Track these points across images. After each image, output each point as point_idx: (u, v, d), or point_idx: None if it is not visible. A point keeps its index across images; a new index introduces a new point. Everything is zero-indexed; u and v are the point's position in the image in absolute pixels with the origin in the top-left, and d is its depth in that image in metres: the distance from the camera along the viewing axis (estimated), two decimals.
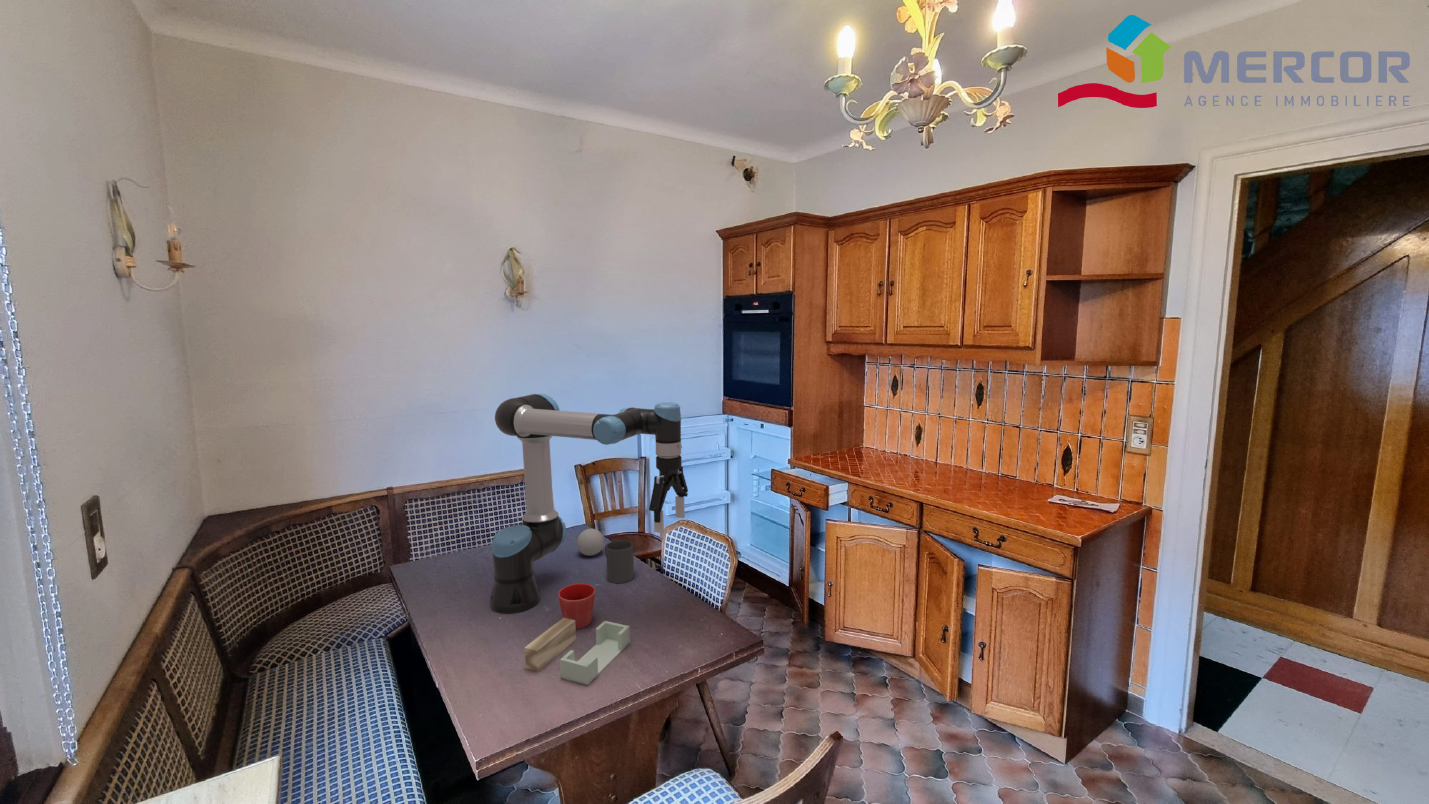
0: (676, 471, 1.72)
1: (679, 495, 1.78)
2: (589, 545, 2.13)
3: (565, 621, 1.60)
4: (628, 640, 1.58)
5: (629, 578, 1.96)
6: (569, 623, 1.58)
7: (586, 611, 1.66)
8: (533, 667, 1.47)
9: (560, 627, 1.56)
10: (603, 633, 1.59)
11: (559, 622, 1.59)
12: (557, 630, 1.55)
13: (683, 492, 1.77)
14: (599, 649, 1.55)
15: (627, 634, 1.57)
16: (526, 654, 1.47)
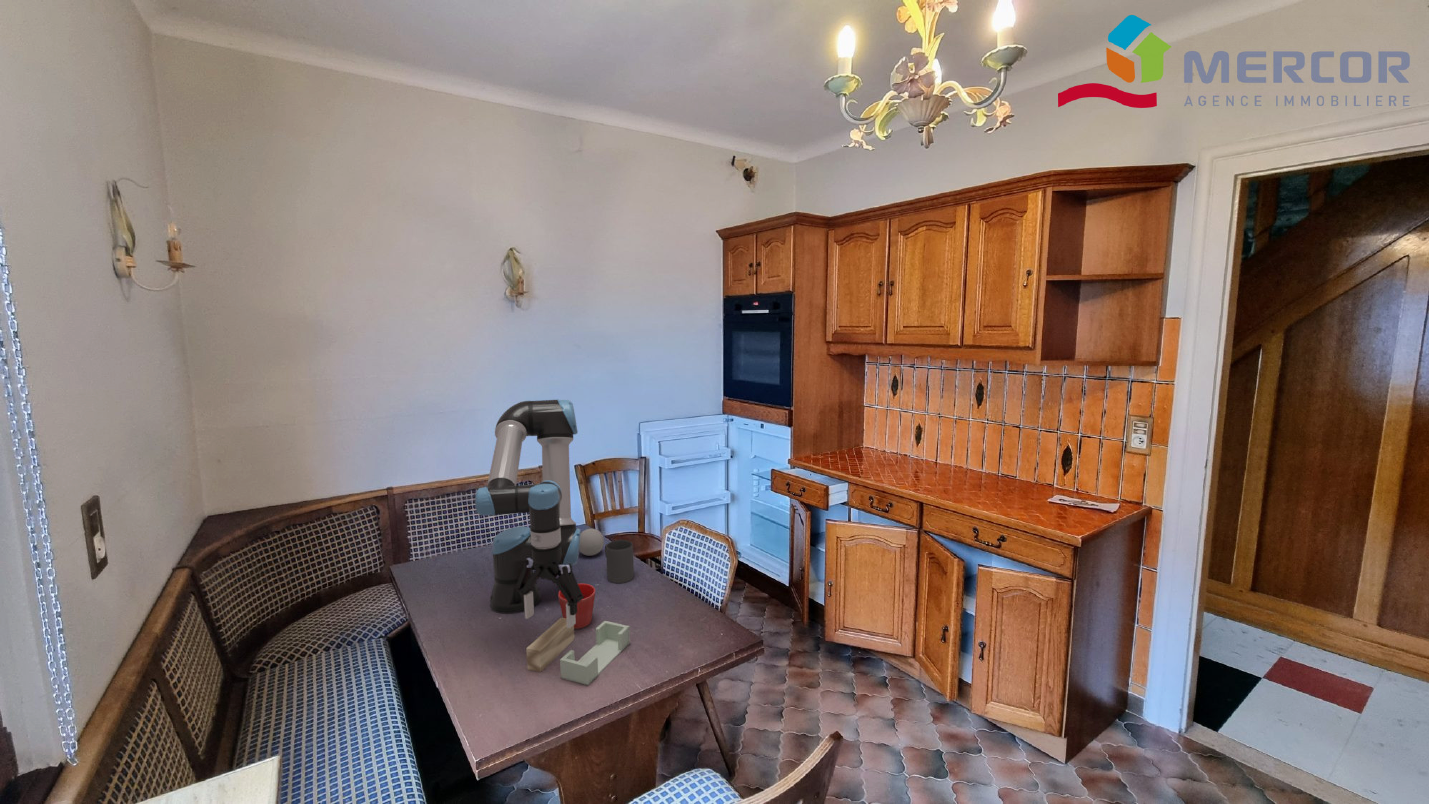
0: (553, 567, 1.49)
1: None
2: (589, 545, 2.13)
3: (564, 621, 1.60)
4: (628, 640, 1.58)
5: (629, 578, 1.96)
6: None
7: (586, 611, 1.66)
8: (535, 667, 1.47)
9: (559, 627, 1.56)
10: (603, 633, 1.59)
11: (557, 622, 1.59)
12: (557, 630, 1.55)
13: (567, 598, 1.48)
14: (599, 649, 1.55)
15: (627, 634, 1.57)
16: (528, 655, 1.47)
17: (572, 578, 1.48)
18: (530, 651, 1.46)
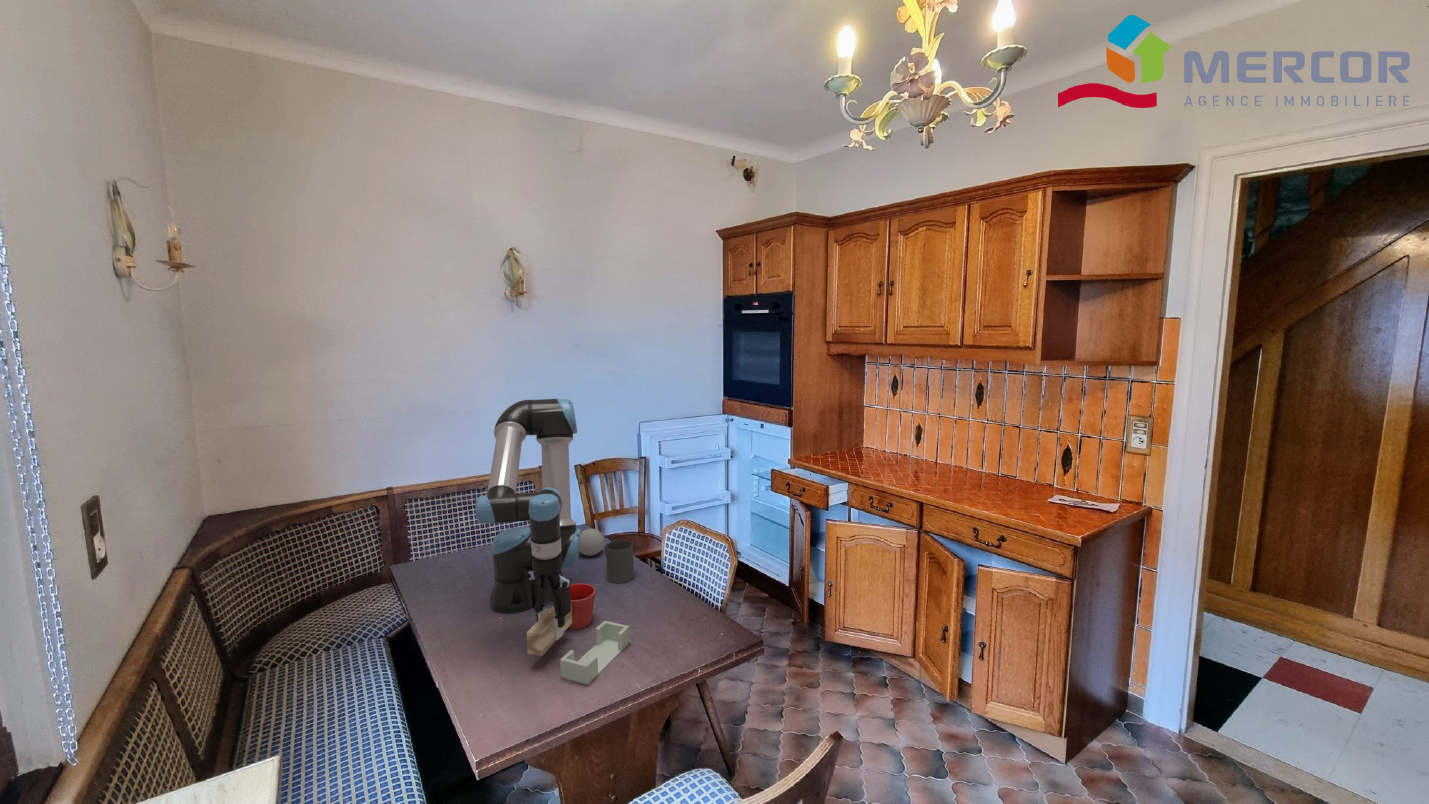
0: (554, 576, 1.49)
1: None
2: (589, 545, 2.13)
3: None
4: (628, 640, 1.58)
5: (629, 578, 1.96)
6: None
7: (586, 611, 1.66)
8: (536, 651, 1.46)
9: None
10: (603, 633, 1.59)
11: None
12: None
13: (556, 611, 1.51)
14: (599, 649, 1.55)
15: (627, 634, 1.57)
16: (528, 639, 1.46)
17: (568, 593, 1.50)
18: (530, 635, 1.46)
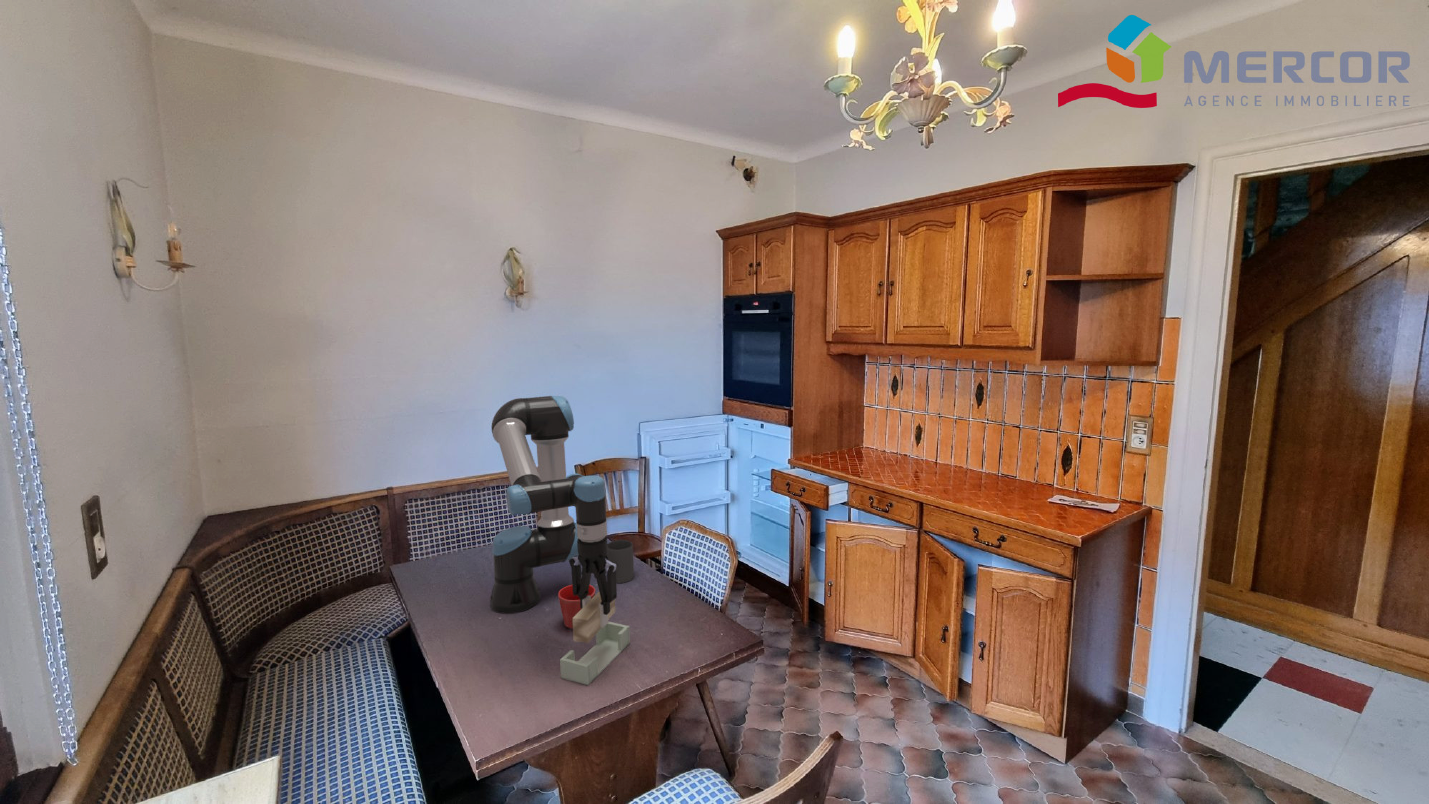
0: (600, 560, 1.45)
1: None
2: None
3: None
4: (628, 640, 1.58)
5: (629, 578, 1.96)
6: None
7: None
8: (582, 638, 1.41)
9: None
10: (603, 633, 1.59)
11: (599, 593, 1.54)
12: (600, 600, 1.50)
13: (602, 597, 1.46)
14: (599, 649, 1.55)
15: (627, 634, 1.57)
16: (574, 625, 1.41)
17: (614, 578, 1.46)
18: (577, 621, 1.41)
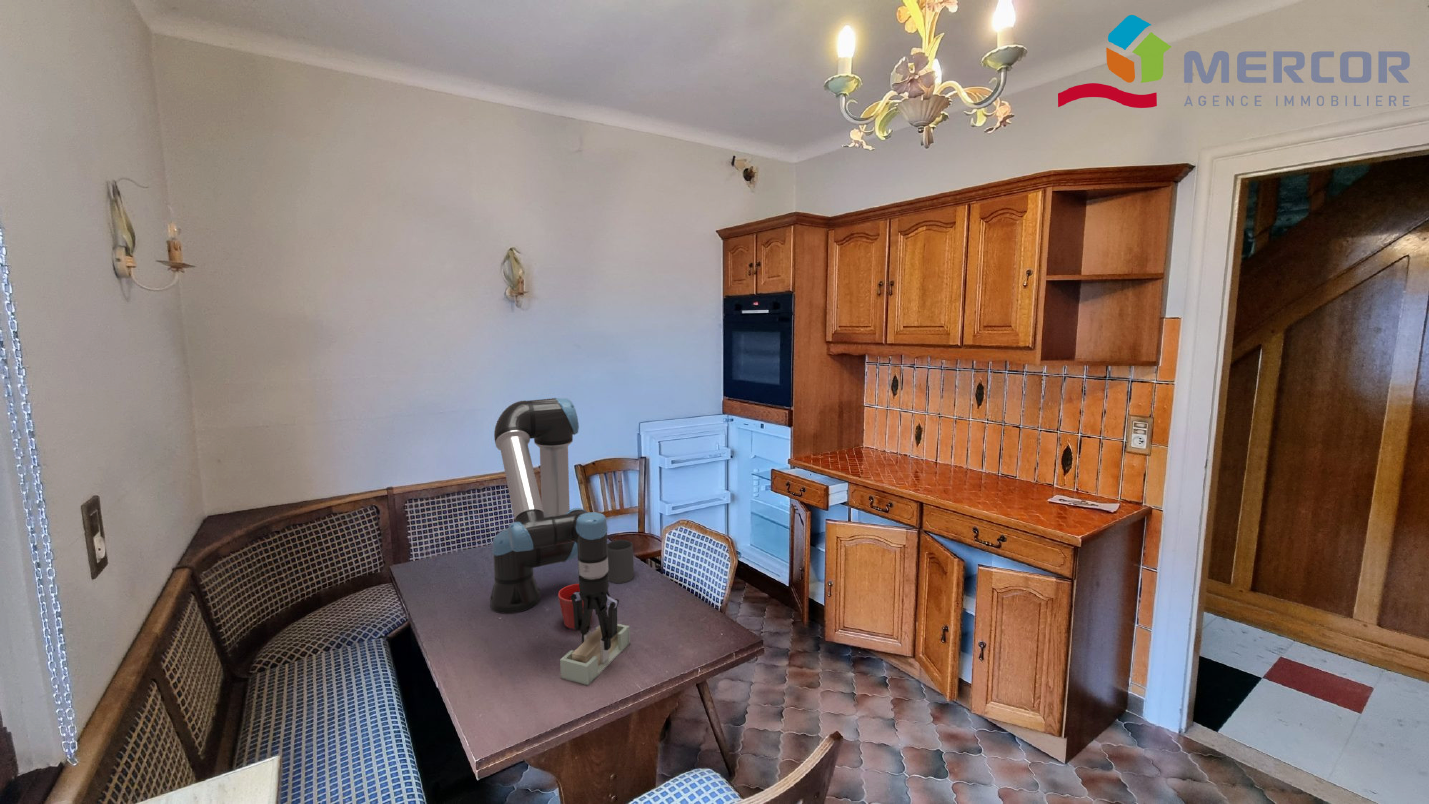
0: (601, 597, 1.46)
1: None
2: None
3: None
4: (628, 640, 1.58)
5: (629, 578, 1.96)
6: None
7: None
8: None
9: None
10: None
11: None
12: None
13: (603, 633, 1.47)
14: None
15: (627, 634, 1.57)
16: (574, 660, 1.43)
17: (615, 614, 1.47)
18: (576, 656, 1.43)
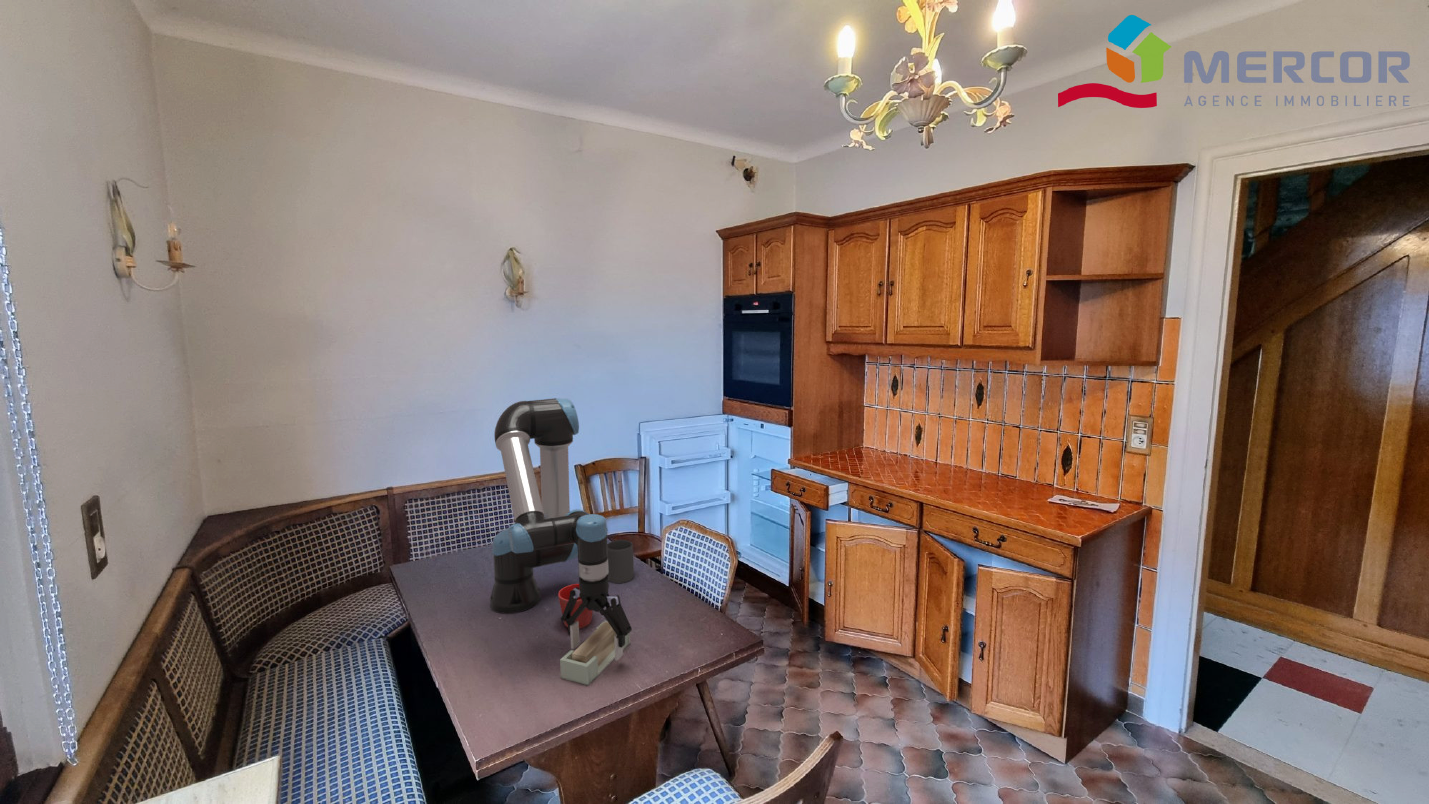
0: (601, 599, 1.47)
1: None
2: None
3: (607, 625, 1.56)
4: (628, 640, 1.58)
5: (629, 578, 1.96)
6: None
7: (586, 611, 1.66)
8: None
9: (603, 632, 1.53)
10: None
11: (601, 626, 1.55)
12: (602, 635, 1.51)
13: (616, 630, 1.46)
14: None
15: (627, 634, 1.57)
16: (574, 660, 1.43)
17: (620, 610, 1.46)
18: (576, 656, 1.43)
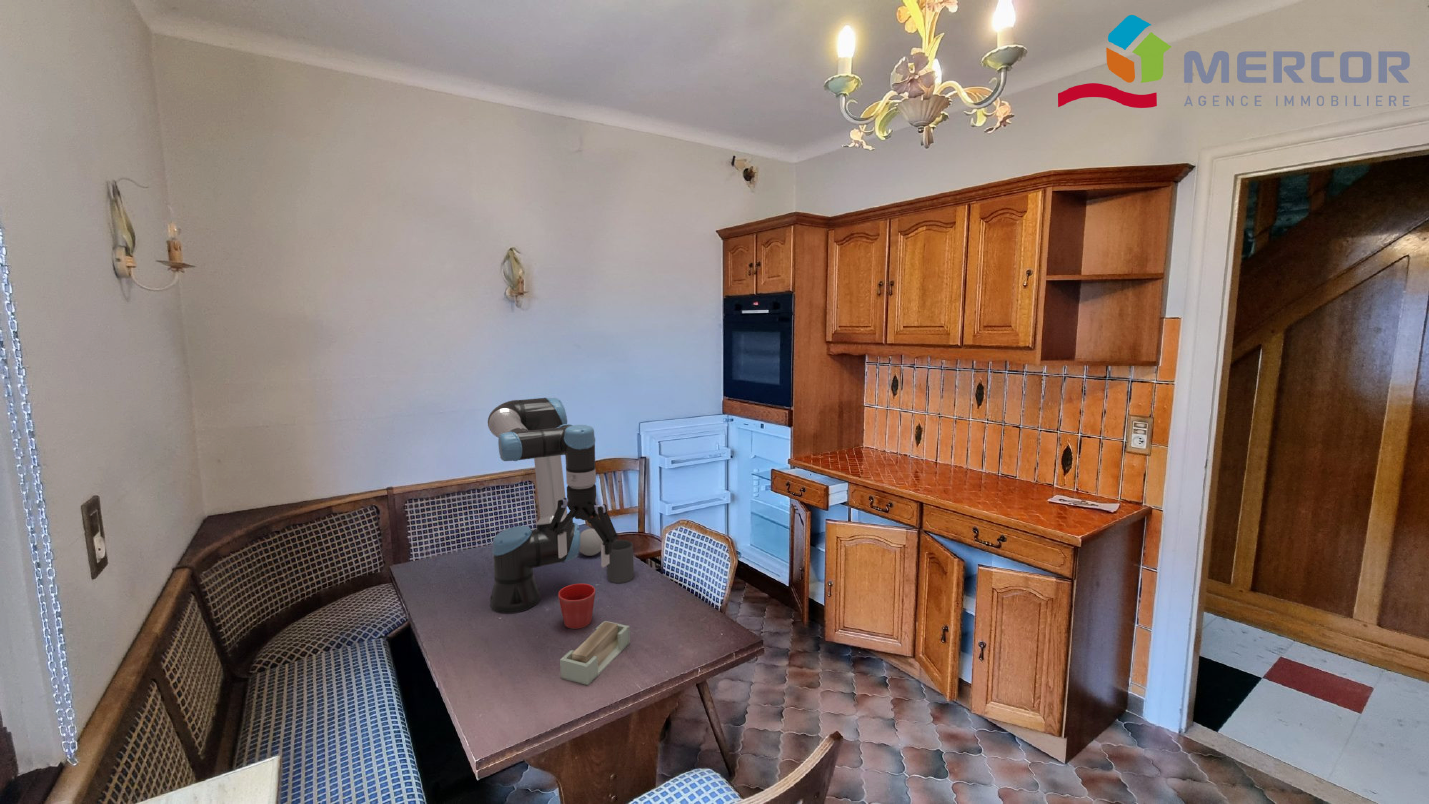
0: (588, 507, 1.49)
1: None
2: (589, 545, 2.13)
3: (607, 625, 1.56)
4: (628, 640, 1.58)
5: (629, 578, 1.96)
6: (612, 627, 1.55)
7: (586, 611, 1.66)
8: None
9: (603, 632, 1.53)
10: None
11: (601, 626, 1.55)
12: (602, 635, 1.51)
13: (602, 538, 1.49)
14: None
15: (627, 634, 1.57)
16: (574, 660, 1.43)
17: (607, 518, 1.49)
18: (576, 656, 1.43)
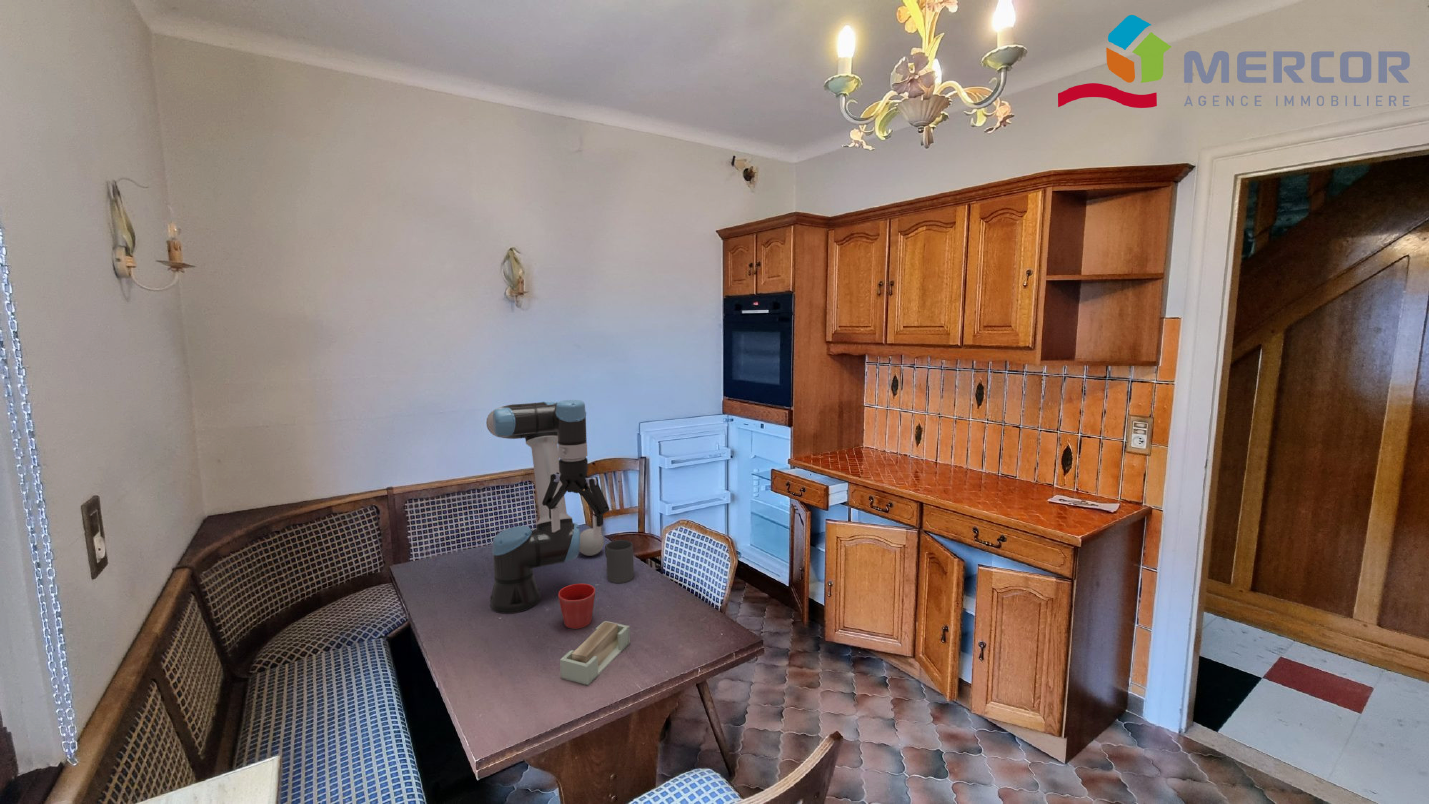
0: (580, 480, 1.53)
1: None
2: (589, 545, 2.13)
3: (607, 625, 1.56)
4: (628, 640, 1.58)
5: (629, 578, 1.96)
6: (612, 627, 1.55)
7: (586, 611, 1.66)
8: None
9: (603, 632, 1.53)
10: None
11: (601, 626, 1.55)
12: (602, 635, 1.51)
13: (594, 509, 1.52)
14: None
15: (627, 634, 1.57)
16: (574, 660, 1.43)
17: (598, 490, 1.52)
18: (576, 656, 1.43)
